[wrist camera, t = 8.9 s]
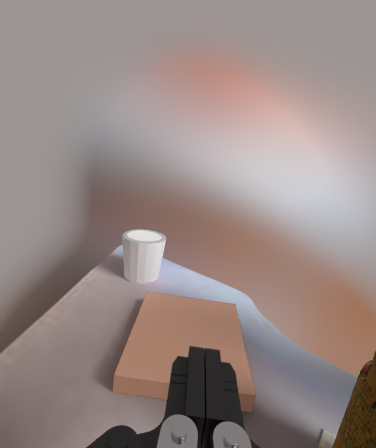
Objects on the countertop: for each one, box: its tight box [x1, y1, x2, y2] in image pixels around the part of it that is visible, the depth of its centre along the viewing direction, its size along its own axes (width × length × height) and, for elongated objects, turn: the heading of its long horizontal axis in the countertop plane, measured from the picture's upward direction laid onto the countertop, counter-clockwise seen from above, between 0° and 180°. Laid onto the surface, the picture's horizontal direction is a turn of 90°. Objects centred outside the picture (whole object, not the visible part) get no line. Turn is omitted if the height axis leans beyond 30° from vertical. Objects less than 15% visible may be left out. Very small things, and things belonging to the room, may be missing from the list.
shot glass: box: [123, 230, 166, 284], centre depth 43 cm, size 7×7×7 cm
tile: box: [113, 292, 256, 412], centre depth 29 cm, size 2×12×14 cm
